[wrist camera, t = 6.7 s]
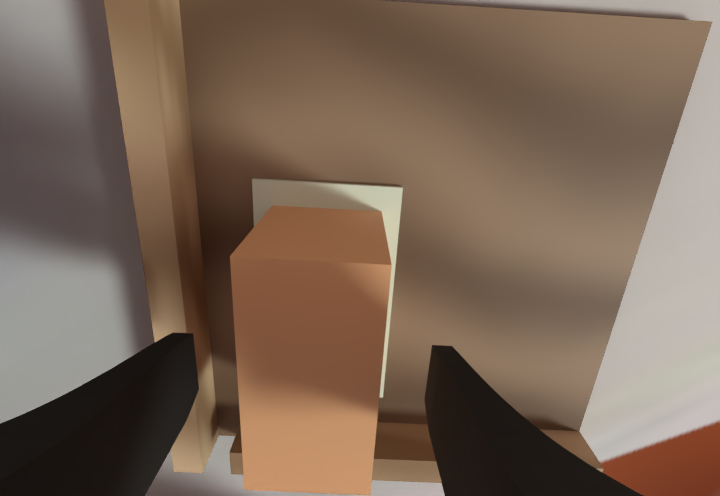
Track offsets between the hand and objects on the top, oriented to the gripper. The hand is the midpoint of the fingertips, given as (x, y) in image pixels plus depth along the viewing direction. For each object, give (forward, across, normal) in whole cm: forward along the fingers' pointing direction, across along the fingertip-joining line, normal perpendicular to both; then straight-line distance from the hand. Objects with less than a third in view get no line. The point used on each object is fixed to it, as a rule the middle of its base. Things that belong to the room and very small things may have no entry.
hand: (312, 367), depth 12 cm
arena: (+5, -3, -2) cm, 6 cm away
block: (+4, 0, 0) cm, 4 cm away
